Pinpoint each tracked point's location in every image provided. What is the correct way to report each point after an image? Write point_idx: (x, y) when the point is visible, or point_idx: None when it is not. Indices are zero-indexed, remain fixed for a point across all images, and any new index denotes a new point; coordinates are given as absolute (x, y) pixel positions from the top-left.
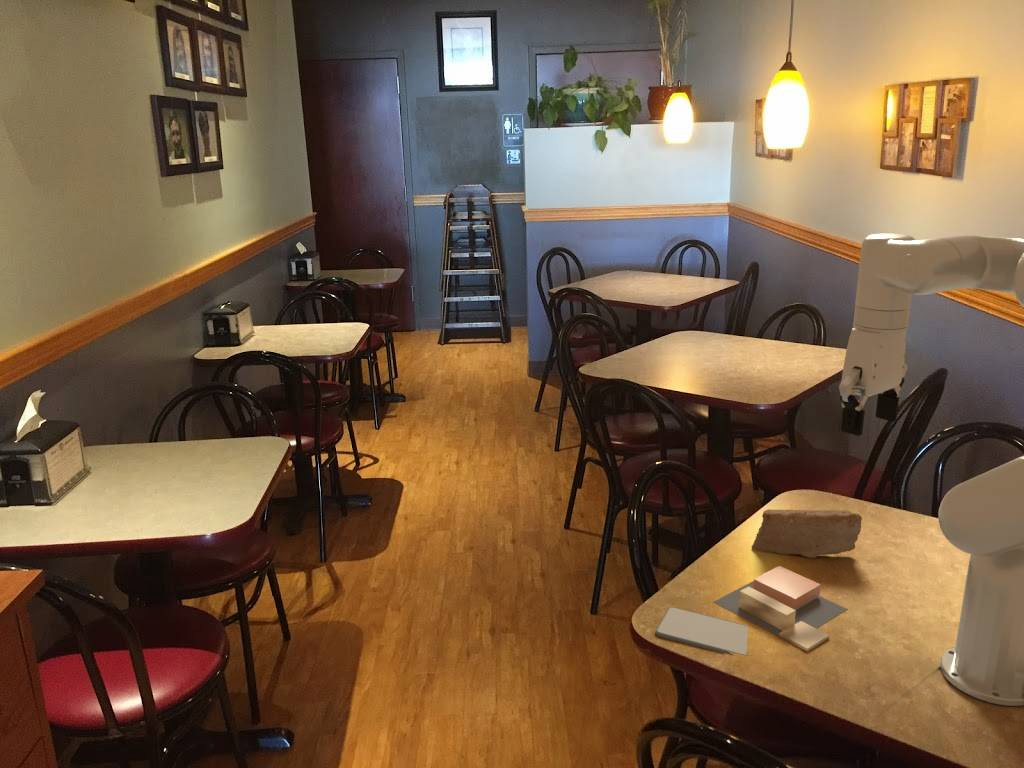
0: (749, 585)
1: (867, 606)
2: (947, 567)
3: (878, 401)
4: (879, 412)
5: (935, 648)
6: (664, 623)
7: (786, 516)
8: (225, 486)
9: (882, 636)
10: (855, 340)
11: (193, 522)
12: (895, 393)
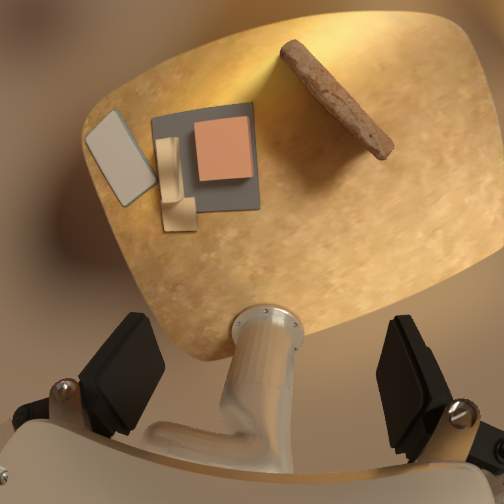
0: (207, 111)
1: (288, 215)
2: (429, 228)
3: (410, 375)
4: (392, 346)
5: (272, 292)
6: (95, 130)
7: (299, 73)
8: None
9: (249, 255)
10: None
11: None
12: (405, 463)
